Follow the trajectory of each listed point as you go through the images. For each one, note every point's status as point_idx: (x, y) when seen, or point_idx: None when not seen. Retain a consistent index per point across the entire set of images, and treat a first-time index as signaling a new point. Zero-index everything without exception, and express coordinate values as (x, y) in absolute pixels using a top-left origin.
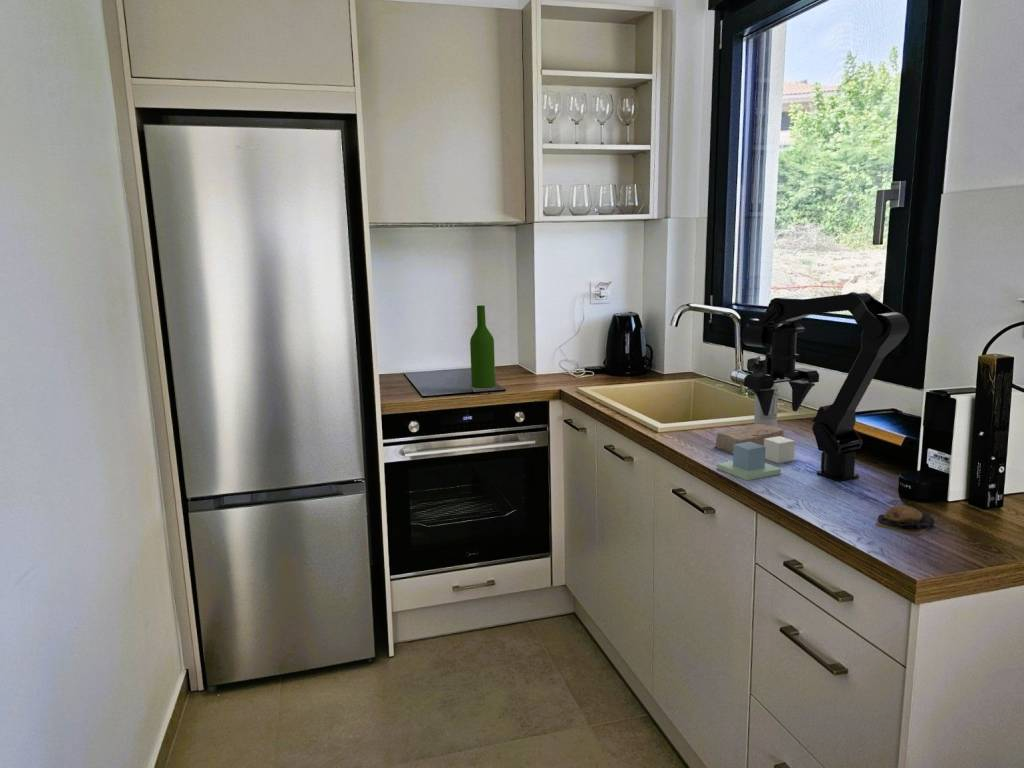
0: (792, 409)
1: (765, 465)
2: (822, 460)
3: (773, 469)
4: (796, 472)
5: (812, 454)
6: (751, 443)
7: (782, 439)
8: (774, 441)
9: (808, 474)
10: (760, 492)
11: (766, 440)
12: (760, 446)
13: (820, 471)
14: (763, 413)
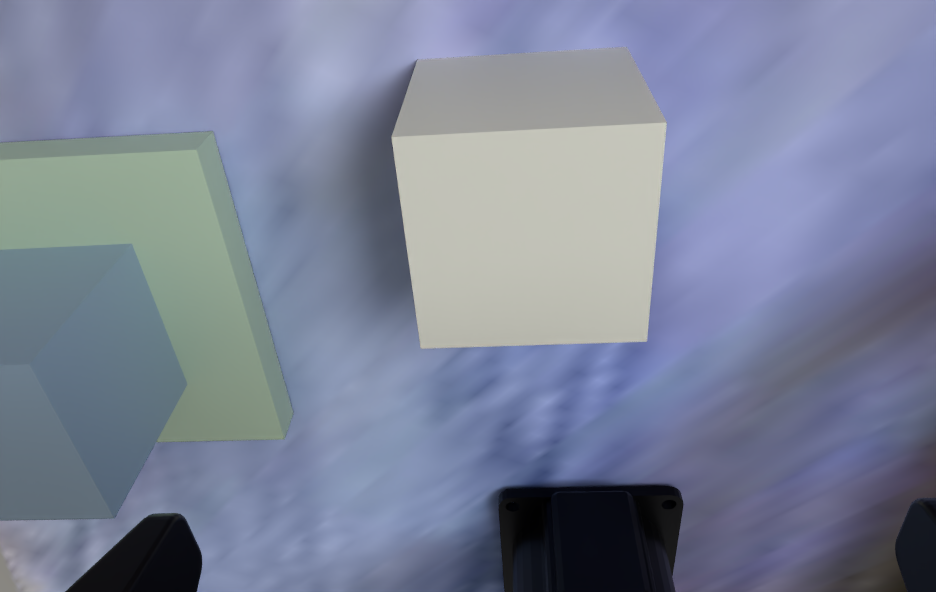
0: (928, 514)
1: (218, 354)
2: (546, 564)
3: (226, 431)
4: (411, 427)
5: (915, 169)
6: (18, 412)
7: (569, 253)
8: (428, 276)
9: (454, 473)
10: (27, 551)
11: (399, 169)
12: (69, 501)
13: (524, 507)
14: (128, 545)
